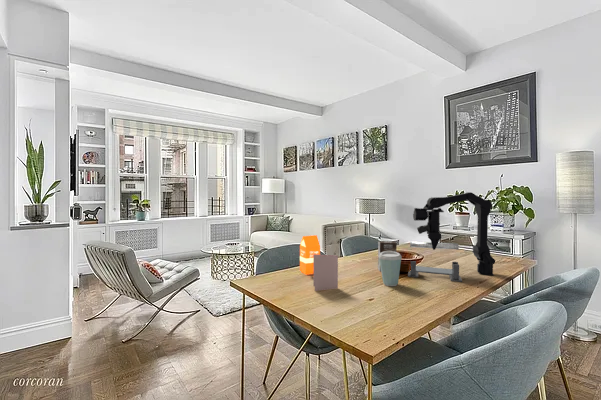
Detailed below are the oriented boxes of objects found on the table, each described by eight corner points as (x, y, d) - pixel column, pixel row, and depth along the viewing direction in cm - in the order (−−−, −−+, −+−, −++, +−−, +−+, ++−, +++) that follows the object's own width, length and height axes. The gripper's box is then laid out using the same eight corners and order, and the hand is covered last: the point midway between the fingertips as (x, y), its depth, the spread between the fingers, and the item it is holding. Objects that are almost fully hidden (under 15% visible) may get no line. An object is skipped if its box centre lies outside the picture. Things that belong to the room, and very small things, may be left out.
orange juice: (299, 271, 169) (299, 235, 169) (313, 269, 173) (313, 234, 172) (305, 274, 162) (305, 237, 162) (320, 272, 166) (320, 236, 165)
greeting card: (338, 287, 141) (338, 255, 140) (335, 292, 133) (335, 258, 133) (313, 285, 144) (313, 253, 143) (310, 290, 136) (310, 257, 136)
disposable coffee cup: (403, 288, 139) (403, 255, 138) (378, 287, 141) (378, 254, 141) (400, 281, 149) (400, 251, 149) (377, 280, 152) (377, 250, 151)
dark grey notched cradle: (460, 277, 157) (460, 261, 157) (462, 282, 149) (462, 265, 148) (408, 272, 166) (408, 257, 166) (407, 276, 158) (408, 261, 158)
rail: (457, 248, 163) (457, 243, 163) (458, 249, 161) (458, 244, 160) (410, 246, 172) (410, 241, 172) (410, 247, 169) (410, 242, 169)
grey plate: (456, 270, 170) (456, 269, 170) (458, 275, 160) (458, 274, 160) (410, 266, 179) (410, 265, 179) (409, 271, 169) (409, 270, 169)
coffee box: (379, 271, 168) (379, 242, 168) (377, 268, 174) (377, 240, 174) (396, 272, 167) (396, 242, 167) (394, 269, 174) (394, 240, 173)
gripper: (417, 218, 177) (417, 245, 178) (418, 221, 160) (418, 251, 160) (438, 219, 173) (438, 246, 174) (441, 222, 156) (441, 252, 156)
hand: (433, 249), depth 166 cm, fingers closed on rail, 3 cm apart
